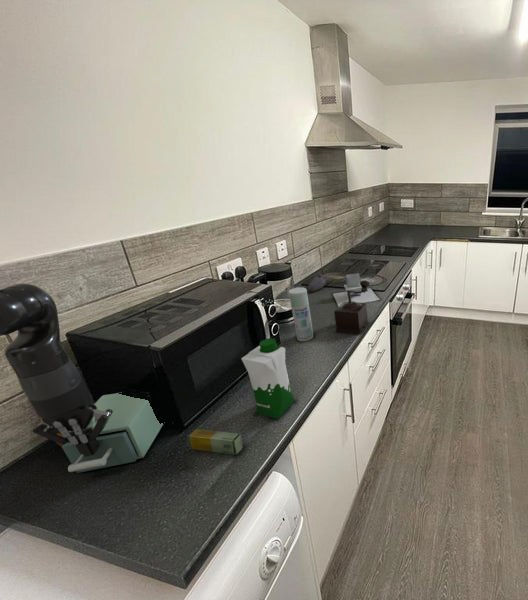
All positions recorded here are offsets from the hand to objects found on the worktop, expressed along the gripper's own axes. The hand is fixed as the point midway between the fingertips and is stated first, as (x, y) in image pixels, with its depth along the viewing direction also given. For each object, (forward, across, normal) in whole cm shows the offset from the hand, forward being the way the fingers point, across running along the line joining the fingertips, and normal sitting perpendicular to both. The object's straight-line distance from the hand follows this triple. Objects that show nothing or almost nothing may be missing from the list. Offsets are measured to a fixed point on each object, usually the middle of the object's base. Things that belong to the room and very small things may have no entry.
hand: (91, 452), depth 68 cm
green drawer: (+6, 0, -6) cm, 9 cm away
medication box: (+7, -23, -2) cm, 24 cm away
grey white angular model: (+8, -66, -90) cm, 112 cm away
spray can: (+7, -42, -53) cm, 68 cm away
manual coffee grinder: (+8, -62, -58) cm, 85 cm away
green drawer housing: (+7, 0, -11) cm, 13 cm away
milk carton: (+7, -35, -13) cm, 38 cm away
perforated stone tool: (+7, -47, -108) cm, 118 cm away
